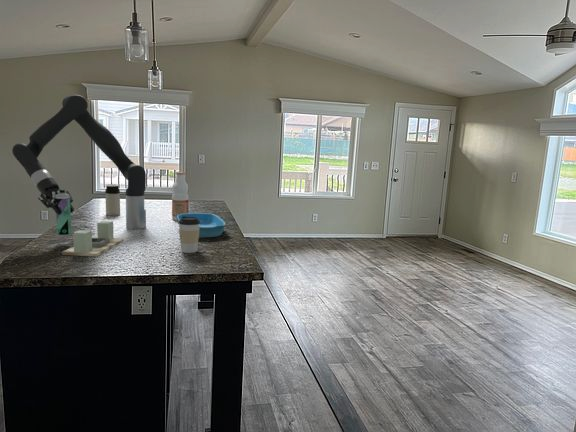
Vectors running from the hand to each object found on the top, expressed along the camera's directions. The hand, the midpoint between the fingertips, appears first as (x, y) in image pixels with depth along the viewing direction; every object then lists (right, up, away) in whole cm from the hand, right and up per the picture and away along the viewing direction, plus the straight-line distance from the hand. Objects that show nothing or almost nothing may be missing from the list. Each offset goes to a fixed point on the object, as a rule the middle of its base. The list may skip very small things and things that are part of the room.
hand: (66, 212), depth 183 cm
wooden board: (+12, -15, +2) cm, 19 cm away
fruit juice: (+31, -4, +70) cm, 77 cm away
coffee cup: (+52, -17, +4) cm, 55 cm away
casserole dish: (+49, -10, +42) cm, 65 cm away
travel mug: (-10, -1, +74) cm, 75 cm away
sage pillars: (+12, -14, +1) cm, 18 cm away
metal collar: (+12, -14, +1) cm, 18 cm away
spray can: (-2, -10, +3) cm, 11 cm away
